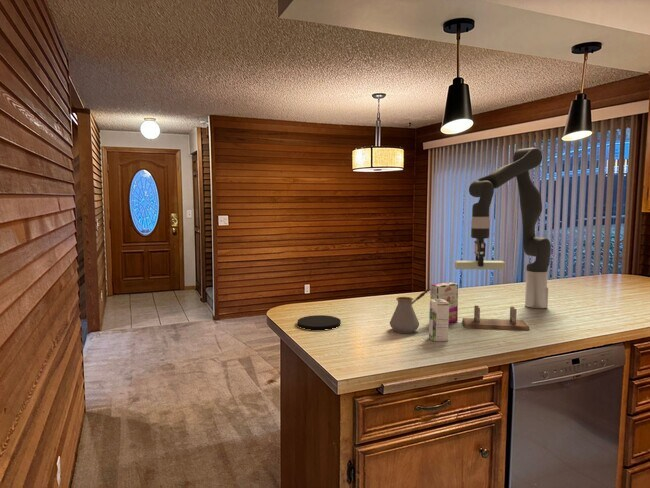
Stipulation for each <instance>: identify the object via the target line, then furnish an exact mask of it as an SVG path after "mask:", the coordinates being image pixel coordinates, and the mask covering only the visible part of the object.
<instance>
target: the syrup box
mask: <svg viewBox="0 0 650 488" xmlns="http://www.w3.org/2000/svg"><path fill="white" fill-rule="evenodd" d="M428 317H429V318H428V319H429V320H428V338H430V340H431V341H432V342H447V341H449V324H450V323H449V302H447V301H445V300H444V299H429V315H428Z"/></svg>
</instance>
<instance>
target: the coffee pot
mask: <svg viewBox="0 0 650 488" xmlns="http://www.w3.org/2000/svg"><path fill="white" fill-rule="evenodd" d="M430 290H431V289H430V288H427V289H425V290H424V291H423V292H421V293H420V294H419V295H418V296H417V297H416V298H415V299H414V298H412V297H411V296H410V297H409V296H398V297H396V301H397V305H396V308H394V309H395V310H394V311H393V314H392V317H391V319H390V321H389V326H390V328H391V329H392V330H393V331H395V332H396V333H399V334H411V333H415V331H416V330H417V329H418V328H419V326H420V322H419V319H418V317H417V314H416V313H415V310H414V308H413V307H414V306H413V304H415V303H416V302H417V301H419V300H420V299H421V298H422V297H424V296H425V295H426V294H427V293H429V294H430ZM431 291H432V290H431ZM431 293H432V292H431Z"/></svg>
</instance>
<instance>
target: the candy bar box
mask: <svg viewBox="0 0 650 488" xmlns="http://www.w3.org/2000/svg"><path fill="white" fill-rule="evenodd" d="M429 289H431V290H432V291H431V290H429V292H430V293H429V294H430V295H429V296H430V299H444V300H445V301H447V302H449V324H454V323H458V322H459V321H458V318H459V317H458V315H459V309H458V308H459V305H458V303H459V293H458V292H459V284H458V283H456V282H452V281H449V282H442V283H434V284H430V288H429ZM431 292H432V293H431ZM430 299H429V300H430Z"/></svg>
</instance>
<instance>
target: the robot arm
mask: <svg viewBox="0 0 650 488" xmlns="http://www.w3.org/2000/svg"><path fill="white" fill-rule="evenodd" d="M512 159H513V160H512V162H511V163H509V164H505V165H503V166H501V167H499V168H497V169H495V170H494V171H493V172H491V173H489V174H488V175H486V176H483V177H480V178H478V179H476V180H474V181H472V183H471V184H470V185H469V187H468V193H469V194H470V196H472V198H473V197H474V198H479V199H478V202H476V203H474V204H473V205H472V209H471V210H472V211H471V212H472V213H471V223H470V224H471V225H470V227H471V228H470V229H471V230H470V231H471V232H470V238H471V239H476V240H474V256H475V261H478V266H479V267H483V266H484V261H485V257H486V242H485V239H490V207H491V203H492V200H493V198H494V193H495V189H498V188H500V187H501V186H503V185H504V184H506V183H507V182H509V181H510V180H512V179H514V178H516V181H517V187H518V188H517V189H518V195H519V196H518V197H519V207H520V211H521V214H520V215H521V221H522V222H521V224H522V248H523V252H524V253H525V255H527V256H530V257H535V261H534V262H531V263H528V264H526V269H525V270H526V272H525V296H524V297H525V299H524V300H525V301H524V307H527V308H531V309H548V306H549V288H548V272H549V270H548V269H549V266H550V261H551V250H552V245H551V244H552V243H551V242H550V240H549V239H548V238H547V237H540V236H536V225H537V222H538V221H539V218H540V216H541V214H542V211H543V204H542V203H543V201H542V195H541V192H540V191H539V189H538V188H537V187H536V185H535V184H534V182H533V181H532V178H531V177H530V172H529V171H530V170H533V169H535V168H537V167H538V166H539V165H541V164H542V161H543V153H542V151H541V150H540V149H539V148H536V147H527V148H519V149H516V150H515V152H514V153H513V157H512Z"/></svg>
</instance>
